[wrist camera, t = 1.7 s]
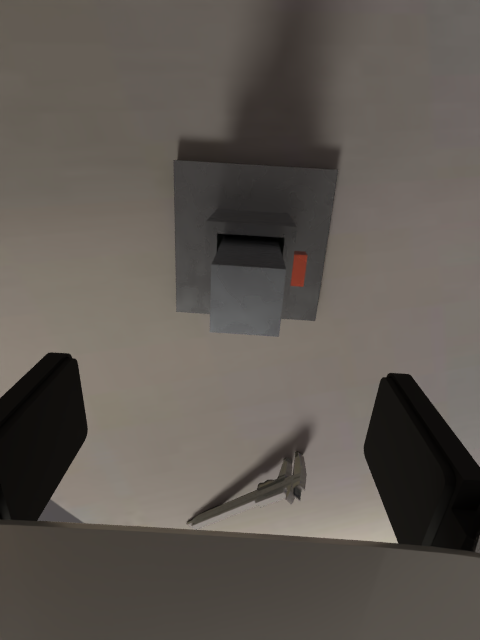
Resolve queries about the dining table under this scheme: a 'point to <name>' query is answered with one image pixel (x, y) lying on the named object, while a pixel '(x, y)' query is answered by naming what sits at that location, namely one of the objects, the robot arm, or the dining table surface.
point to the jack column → (247, 286)
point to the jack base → (252, 225)
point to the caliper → (260, 494)
